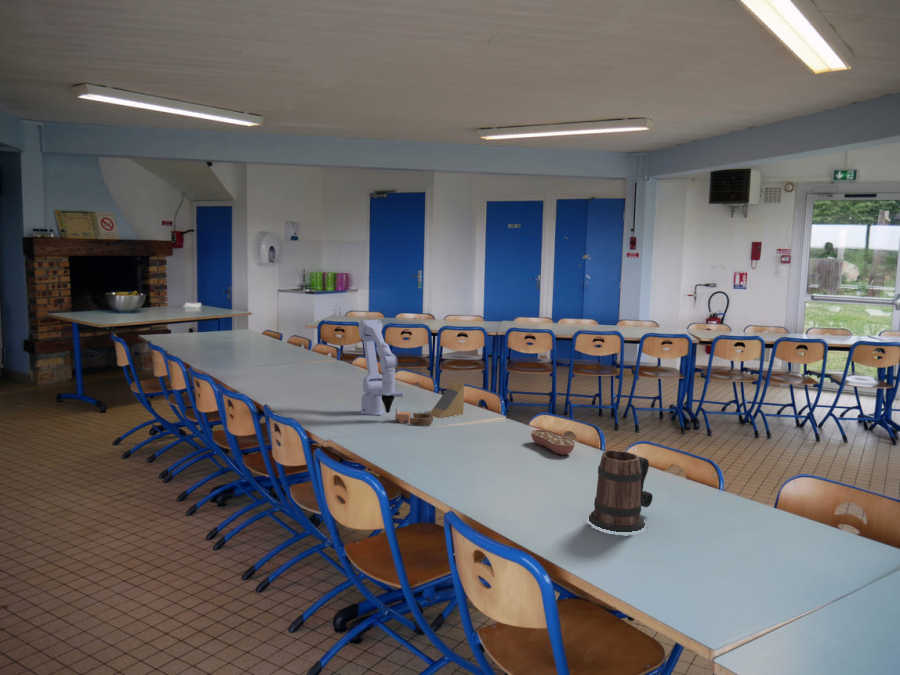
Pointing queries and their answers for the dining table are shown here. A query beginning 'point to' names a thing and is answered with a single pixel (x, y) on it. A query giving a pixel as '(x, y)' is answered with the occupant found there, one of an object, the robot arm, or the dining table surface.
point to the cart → (402, 416)
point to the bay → (421, 419)
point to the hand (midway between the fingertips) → (387, 412)
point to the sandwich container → (450, 402)
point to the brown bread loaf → (553, 441)
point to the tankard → (620, 492)
